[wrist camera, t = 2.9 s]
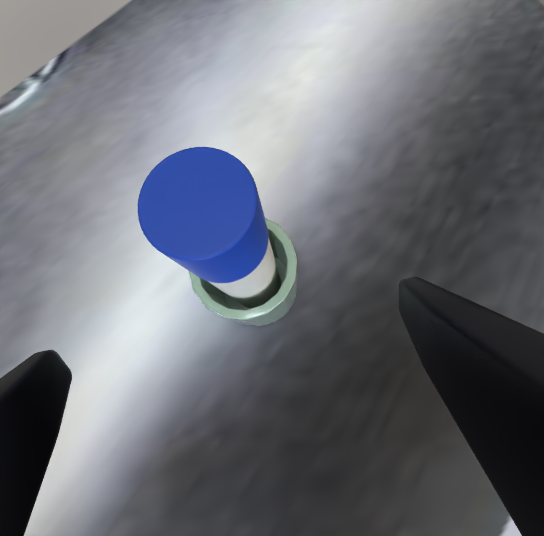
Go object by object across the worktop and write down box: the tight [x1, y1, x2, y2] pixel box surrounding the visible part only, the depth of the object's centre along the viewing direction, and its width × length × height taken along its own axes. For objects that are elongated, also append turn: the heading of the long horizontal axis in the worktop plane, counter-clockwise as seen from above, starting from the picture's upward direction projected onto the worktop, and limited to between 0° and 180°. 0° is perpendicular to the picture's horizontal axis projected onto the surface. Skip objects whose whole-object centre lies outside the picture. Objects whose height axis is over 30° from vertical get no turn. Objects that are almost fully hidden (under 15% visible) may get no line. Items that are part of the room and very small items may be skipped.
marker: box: [138, 147, 281, 308], centre depth 13 cm, size 3×3×12 cm
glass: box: [189, 218, 298, 326], centre depth 17 cm, size 5×5×6 cm
